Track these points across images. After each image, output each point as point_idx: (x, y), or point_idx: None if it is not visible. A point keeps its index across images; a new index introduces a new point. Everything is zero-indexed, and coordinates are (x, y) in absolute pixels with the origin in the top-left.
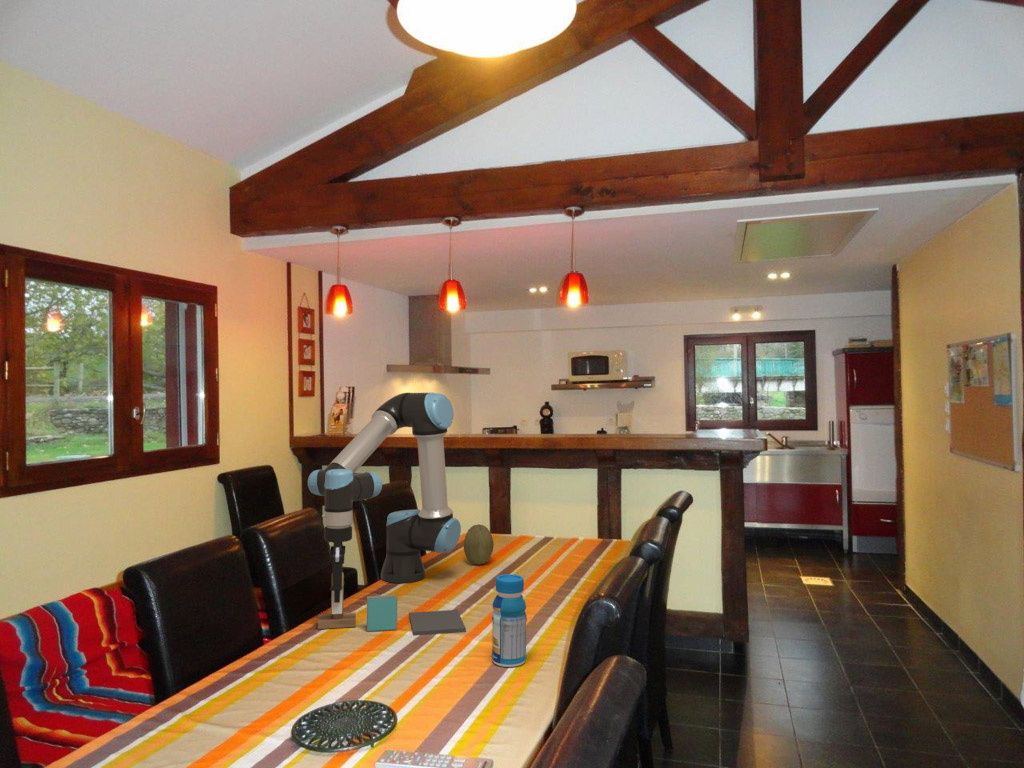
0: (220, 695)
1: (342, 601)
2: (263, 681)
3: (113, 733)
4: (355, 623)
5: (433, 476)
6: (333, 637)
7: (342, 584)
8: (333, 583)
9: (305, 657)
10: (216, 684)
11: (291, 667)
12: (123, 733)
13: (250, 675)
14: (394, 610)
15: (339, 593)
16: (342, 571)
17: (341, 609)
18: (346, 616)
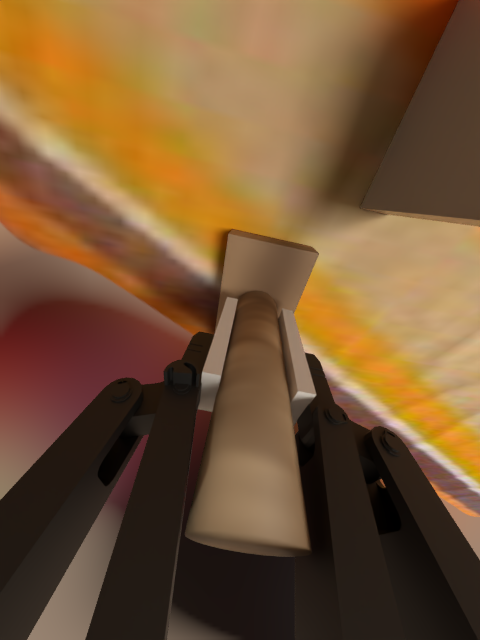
0: (464, 469)
1: (273, 330)
2: (474, 441)
3: (456, 507)
4: (315, 250)
5: None
6: (355, 323)
7: (282, 412)
8: (392, 516)
9: (434, 389)
10: (421, 466)
11: (460, 412)
12: (465, 505)
13: (430, 446)
14: None
15: (329, 395)
16: (53, 444)
17: (295, 322)
18: (266, 280)
